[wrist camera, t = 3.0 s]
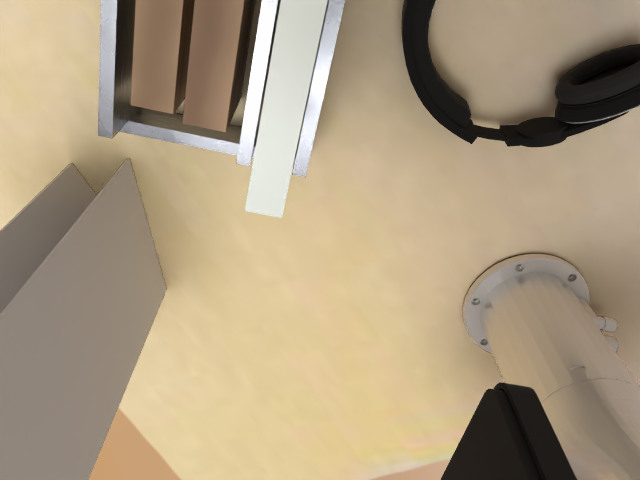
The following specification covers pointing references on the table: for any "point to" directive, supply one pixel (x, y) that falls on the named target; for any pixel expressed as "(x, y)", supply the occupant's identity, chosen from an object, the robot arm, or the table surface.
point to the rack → (169, 127)
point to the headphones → (570, 118)
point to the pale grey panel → (284, 103)
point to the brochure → (71, 321)
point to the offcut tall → (217, 61)
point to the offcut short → (161, 53)
